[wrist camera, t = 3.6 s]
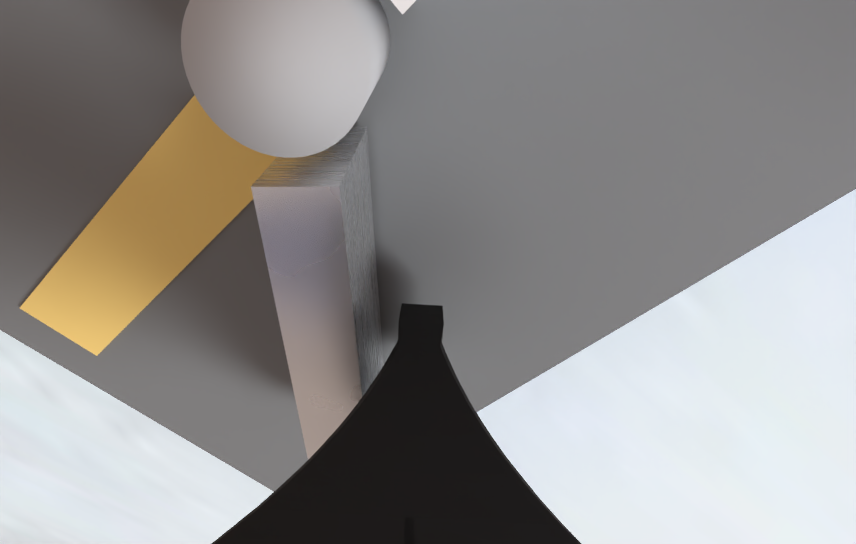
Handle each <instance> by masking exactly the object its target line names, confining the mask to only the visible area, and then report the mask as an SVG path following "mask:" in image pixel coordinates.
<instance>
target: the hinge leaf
mask: <svg viewBox="0 0 856 544" xmlns="http://www.w3.org/2000/svg"><path fill="white" fill-rule="evenodd" d="M251 190H252V195H253V199H254V204H255V209H256V214H257V219H258V223H259V228H260V233H261V238H262V242H263V247H264V252H265V257H266V262H267V266H268V271H269V276H270V281H271V285H272V290H273V295H274V300H275V305H276V309H277V314H278V319H279V324H280V328H281V333H282V338H283V343H284V348H285V352H286V357H287V362H288V367H289V371H290V376H291V381H292V386H293V391H294V395H295V400H296V405H297V410H298V415H299V419H300V424H301V429H302V434H303V438H304V443H305V448H306V453H307V458H308V459H309V458H310V457H311V456H312V455H313V454H314V453H315V452H316V451H317V450H318V449H319V448H320V447H321V446H322V445H323V444H324V442H325V441H326V440H327V439H328V438H329V437H330V436H331V435H332V434H333V433H334V431H335V430H336V429H337V428H338V427H339V426H340V425H341V423H342V422H343V421H344V420H345V418H346V417H347V416H348V415H349V414H350V412H351V411H352V410H353V409H354V407H355V406H356V405H357V403H358V402H359V401H360V399H361V398H362V397H363V395H364V394H365V393H366V391H367V390H368V388H369V387H370V385H371V384H372V382H373V381H374V379H375V378H376V376H377V375H378V373H379V372H380V370H381V369H382V367H383V366H384V363H383V349H382V335H381V321H380V307H379V293H378V279H377V265H376V252H375V238H374V224H373V210H372V196H371V182H370V168H369V154H368V140H367V127H352V128H351V129H350V130H349V132H348V133H347V134H346V135H345V136H344V137H343V138H342V139H341V140H339V141H338V142H337V143H336V144H334V145H333V146H331V147H329V148H328V149H326V150H324V151H321V152H319V153H316V154H313V155H309V156H304V157H297V158H284V157H276V159H275V160H274V161H273V162H272V163H271V164H270V165H269V167H268V168H267V169H266V170H265V171H264V172H263V173H262V175H261V176H260V177H259V178H258V179H257V180H256V181H255V183H254V184H253V185H252V186H251Z"/></svg>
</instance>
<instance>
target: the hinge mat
mask: <svg viewBox="0 0 856 544" xmlns="http://www.w3.org/2000/svg"><path fill="white" fill-rule="evenodd" d="M352 127H367V140H368V154H369V168H370V182H371V196H372V210H373V224H374V238H375V252H376V265H377V279H378V293H379V307H380V321H381V335H382V349H383V363H384V364H385V362H386V361H387V359H388V357H389V355H390V354H391V352H392V350H393V348H394V346H395V345H396V343H397V341H398V322H399V315H400V310H401V304H402V303H405V304H423V305H440V306H443V320H444V326H443V338H442V344H443V347H444V349H445V352H446V354H447V356H448V358H449V361H450V363H451V365H452V367H453V370H454V372H455V374H456V376H457V378H458V380H459V382H460V384H461V386H462V388H463V390H464V392H465V393H466V395H467V397H468V399H469V401H470V403H471V404H472V406H473V408H474V410H475V411H476V412H478V411H479V410H481V409H483V408H484V407H486V406H488V405H489V404H491V403H493V402H495V401H496V400H498V399H500V398H501V397H503V396H505V395H506V394H508V393H510V392H511V391H513V390H515V389H517V388H518V387H520V386H522V385H523V384H525V383H527V382H528V381H530V380H532V379H534V378H535V377H537V376H539V375H540V374H542V373H544V372H545V371H547V370H549V369H551V368H552V367H554V366H556V365H557V364H559V363H561V362H562V361H564V360H566V359H568V358H569V357H571V356H573V355H574V354H576V353H578V352H579V351H581V350H583V349H584V348H586V347H588V346H590V345H591V344H593V343H595V342H596V341H598V340H600V339H601V338H603V337H605V336H607V335H608V334H610V333H612V332H613V331H615V330H617V329H618V328H620V327H622V326H624V325H625V324H627V323H629V322H630V321H632V320H634V319H635V318H637V317H639V316H640V315H642V314H644V313H646V312H647V311H649V310H651V309H652V308H654V307H656V306H657V305H659V304H661V303H663V302H664V301H666V300H668V299H669V298H671V297H673V296H674V295H676V294H678V293H680V292H681V291H683V290H685V289H686V288H688V287H690V286H691V285H693V284H695V283H697V282H698V281H700V280H702V279H703V278H705V277H707V276H708V275H710V274H712V273H713V272H715V271H717V270H719V269H720V268H722V267H724V266H725V265H727V264H729V263H730V262H732V261H734V260H736V259H737V258H739V257H741V256H742V255H744V254H746V253H747V252H749V251H751V250H753V249H754V248H756V247H758V246H759V245H761V244H763V243H764V242H766V241H768V240H769V239H771V238H773V237H775V236H776V235H778V234H780V233H781V232H783V231H785V230H786V229H788V228H790V227H792V226H793V225H795V224H797V223H798V222H800V221H802V220H803V219H805V218H807V217H809V216H810V215H812V214H814V213H815V212H817V211H819V210H820V209H822V208H824V207H826V206H827V205H829V204H831V203H832V202H834V201H836V200H837V199H839V198H841V197H842V196H844V195H846V194H848V193H849V192H851V191H853V190H854V189H856V0H0V330H2V331H3V332H5V333H7V334H8V335H10V336H12V337H13V338H15V339H17V340H19V341H20V342H22V343H24V344H25V345H27V346H29V347H30V348H32V349H34V350H35V351H37V352H39V353H41V354H42V355H44V356H46V357H47V358H49V359H51V360H52V361H54V362H56V363H57V364H59V365H61V366H63V367H64V368H66V369H68V370H69V371H71V372H73V373H74V374H76V375H78V376H79V377H81V378H83V379H85V380H86V381H88V382H90V383H91V384H93V385H95V386H96V387H98V388H100V389H101V390H103V391H105V392H107V393H108V394H110V395H112V396H113V397H115V398H117V399H118V400H120V401H122V402H124V403H125V404H127V405H129V406H130V407H132V408H134V409H135V410H137V411H139V412H140V413H142V414H144V415H146V416H147V417H149V418H151V419H152V420H154V421H156V422H157V423H159V424H161V425H162V426H164V427H166V428H168V429H169V430H171V431H173V432H174V433H176V434H178V435H179V436H181V437H183V438H184V439H186V440H188V441H190V442H191V443H193V444H195V445H196V446H198V447H200V448H201V449H203V450H205V451H206V452H208V453H210V454H212V455H213V456H215V457H217V458H218V459H220V460H222V461H223V462H225V463H227V464H229V465H230V466H232V467H234V468H235V469H237V470H239V471H240V472H242V473H244V474H245V475H247V476H249V477H251V478H252V479H254V480H256V481H257V482H259V483H261V484H262V485H264V486H266V487H267V488H269V489H271V490H273V491H274V492H275V491H276V490H277V489H278V488H279V487H280V486H281V485H282V484H283V483H284V482H285V481H286V480H287V479H289V478H290V477H291V476H292V475H293V474H294V473H295V472H296V471H297V470H298V469H299V468H300V467H301V466H302V465H303V464H304V463H305V462H306V461H307V460H308V458H307V453H306V448H305V443H304V438H303V434H302V429H301V424H300V419H299V415H298V410H297V405H296V400H295V395H294V391H293V386H292V381H291V376H290V371H289V367H288V362H287V357H286V352H285V348H284V343H283V338H282V333H281V328H280V324H279V319H278V314H277V309H276V305H275V300H274V295H273V290H272V285H271V281H270V276H269V271H268V266H267V262H266V257H265V252H264V247H263V242H262V238H261V233H260V228H259V223H258V219H257V214H256V209H255V204H254V199H253V195H252V190H251V186H252V185H253V184H254V183H255V181H256V180H257V179H258V178H259V177H260V176H261V175H262V173H263V172H264V171H265V170H266V169H267V168H268V167H269V165H270V164H271V163H272V162H273V161H274V160H275V159H276V157H284V158H297V157H304V156H309V155H313V154H316V153H319V152H321V151H324V150H326V149H328V148H329V147H331V146H333V145H334V144H336V143H337V142H338V141H339V140H341V139H342V138H343V137H344V136H345V135H346V134H347V133H348V132H349V130H350V129H351V128H352Z"/></svg>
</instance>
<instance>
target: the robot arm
mask: <svg viewBox="0 0 856 544" xmlns="http://www.w3.org/2000/svg"><path fill="white" fill-rule="evenodd" d="M443 326H444V320H443V306H440V305H423V304H405V303H402V304H401V310H400V315H399V322H398V341H397V343H396V345H395V346H394V348H393V350H392V352H391V354H390V355H389V357H388V359H387V361H386V362H385V364H384V366H383V367H382V369H381V370H380V372H379V373H378V375H377V376H376V378H375V379H374V381H373V382H372V384H371V385H370V387H369V388H368V390H367V391H366V393H365V394H364V395H363V397H362V398H361V399H360V401H359V402H358V403H357V405H356V406H355V407H354V409H353V410H352V411H351V412H350V414H349V415H348V416H347V417H346V418H345V420H344V421H343V422H342V423H341V425H340V426H339V427H338V428H337V429H336V430H335V431H334V433H333V434H332V435H331V436H330V437H329V438H328V439H327V440H326V441H325V442H324V444H323V445H322V446H321V447H320V448H319V449H318V450H317V451H316V452H315V453H314V454H313V455H312V456H311V457H310V458H309V459H308V460H307V461H306V462H305V463H304V464H303V465H302V466H301V467H300V468H299V469H298V470H297V471H296V472H295V473H294V474H293V475H292V476H291V477H290V478H289V479H287V480H286V481H285V482H284V483H283V484H282V485H281V486H280V487H279V488H278V489H277V490H276V491H275V492H274V493H272V494H271V495H270V496H269V497H268V498H267V499H266V500H265V501H264V502H262V503H261V504H260V505H259V506H258V507H257V508H255V509H254V510H253V511H252V512H250V513H249V514H248V515H247V516H245V517H244V518H243V519H242V520H240V521H239V522H238V523H237V524H236V525H234V526H233V527H232V528H231V529H229V530H228V531H227V532H226V533H224V534H223V535H222V536H221V537H219V538H218V539H217V540H216V541H214V542H213V543H212V544H581V543H580V542H579V541H578V540H577V539H576V538H575V537H574V536H573V535H572V534H571V533H570V532H569V530H568V529H567V528H566V527H565V526H564V525H563V524H562V523H561V522H560V521H559V520H558V519H557V518H556V516H555V515H554V514H553V513H552V512H551V511H550V510H549V509H548V508H547V506H546V505H545V504H544V503H543V502H542V501H541V500H540V499H539V497H538V496H537V495H536V494H535V492H534V491H533V490H532V489H531V488H530V486H529V485H528V484H527V483H526V481H525V480H524V479H523V478H522V476H521V475H520V474H519V473H518V471H517V470H516V469H515V468H514V466H513V465H512V464H511V463H510V461H509V460H508V459H507V457H506V456H505V455H504V453H503V452H502V451H501V449H500V448H499V446H498V445H497V443H496V442H495V441H494V439H493V438H492V436H491V435H490V433H489V432H488V430H487V429H486V427H485V426H484V424H483V423H482V421H481V419H480V418H479V416H478V415H477V413H476V411H475V410H474V408H473V406H472V404H471V403H470V401H469V399H468V397H467V395H466V393H465V392H464V390H463V388H462V386H461V384H460V382H459V380H458V378H457V376H456V374H455V372H454V370H453V367H452V365H451V363H450V361H449V358H448V356H447V354H446V352H445V349H444V347H443V344H442V338H443Z"/></svg>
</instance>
